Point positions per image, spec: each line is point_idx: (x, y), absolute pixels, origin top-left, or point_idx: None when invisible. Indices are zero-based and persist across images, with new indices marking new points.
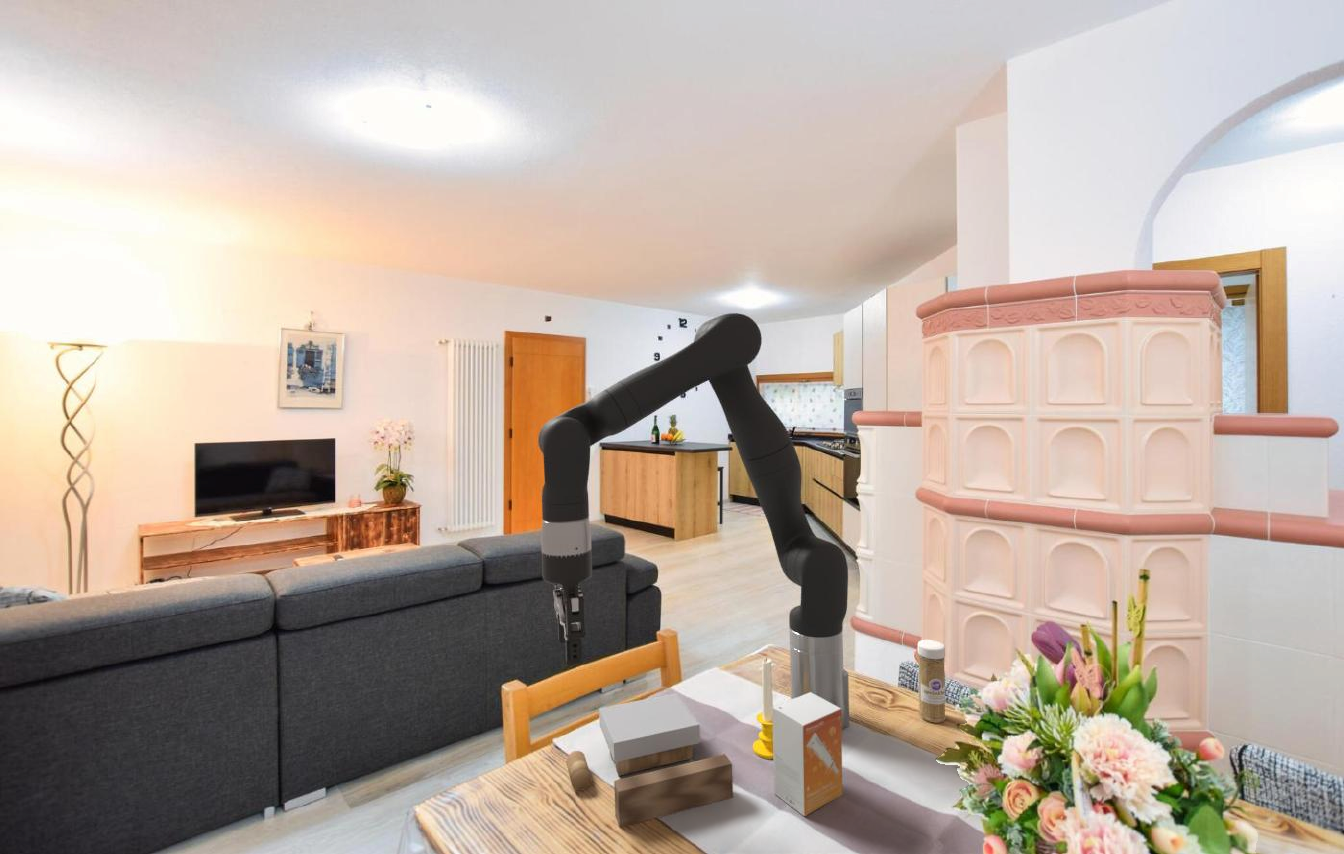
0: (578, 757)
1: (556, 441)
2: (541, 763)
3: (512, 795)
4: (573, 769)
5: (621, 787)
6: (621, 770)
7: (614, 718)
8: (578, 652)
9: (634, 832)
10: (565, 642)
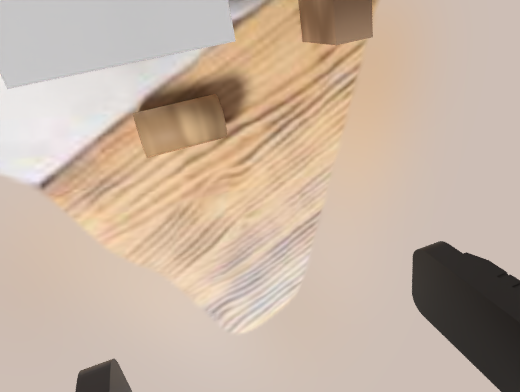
0: (169, 131)
1: None
2: (113, 207)
3: (212, 236)
4: (206, 138)
5: (362, 28)
6: None
7: (86, 31)
8: (516, 285)
9: None
10: (127, 384)
